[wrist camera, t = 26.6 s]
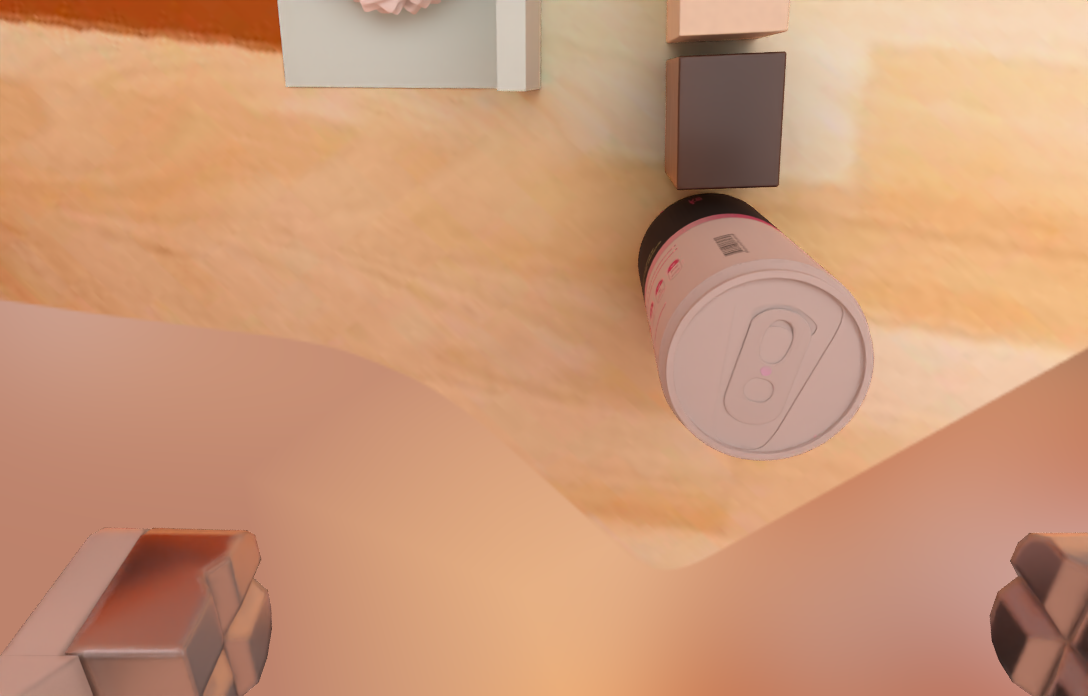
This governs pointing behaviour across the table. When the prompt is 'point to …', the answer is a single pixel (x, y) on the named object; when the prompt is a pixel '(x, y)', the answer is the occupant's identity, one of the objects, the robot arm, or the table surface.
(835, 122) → the table surface
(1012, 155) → the table surface
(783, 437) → the beverage can
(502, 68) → the l-shaped corner panel
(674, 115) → the walnut block
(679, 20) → the light tan block
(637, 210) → the table surface
